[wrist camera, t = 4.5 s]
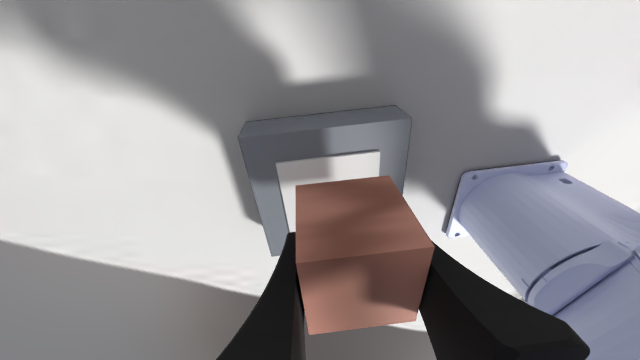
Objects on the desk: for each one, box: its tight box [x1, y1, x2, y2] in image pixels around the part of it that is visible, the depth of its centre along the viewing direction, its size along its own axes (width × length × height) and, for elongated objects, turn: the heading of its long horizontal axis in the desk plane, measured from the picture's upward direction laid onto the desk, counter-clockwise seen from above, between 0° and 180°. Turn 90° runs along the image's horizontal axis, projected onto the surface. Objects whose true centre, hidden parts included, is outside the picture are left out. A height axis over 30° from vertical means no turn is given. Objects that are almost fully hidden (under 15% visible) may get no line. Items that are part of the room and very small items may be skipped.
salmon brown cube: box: [295, 175, 435, 335], centre depth 12 cm, size 5×5×5 cm
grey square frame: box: [238, 105, 412, 256], centre depth 19 cm, size 11×11×3 cm
